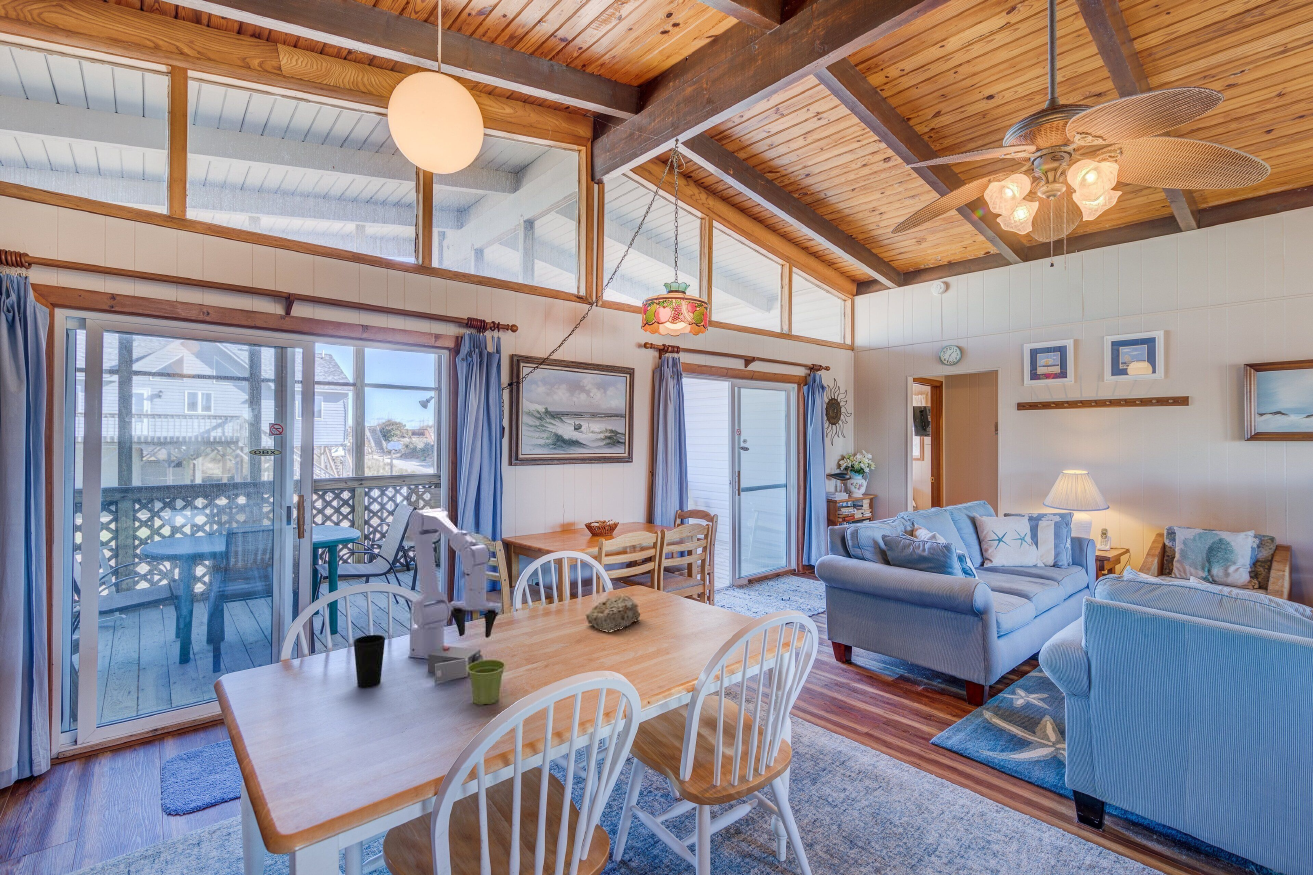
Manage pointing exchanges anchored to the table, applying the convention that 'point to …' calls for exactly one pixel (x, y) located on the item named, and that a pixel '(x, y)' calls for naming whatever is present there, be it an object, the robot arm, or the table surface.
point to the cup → (369, 660)
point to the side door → (451, 670)
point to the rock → (613, 613)
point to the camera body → (452, 656)
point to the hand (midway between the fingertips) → (475, 635)
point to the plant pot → (486, 680)
